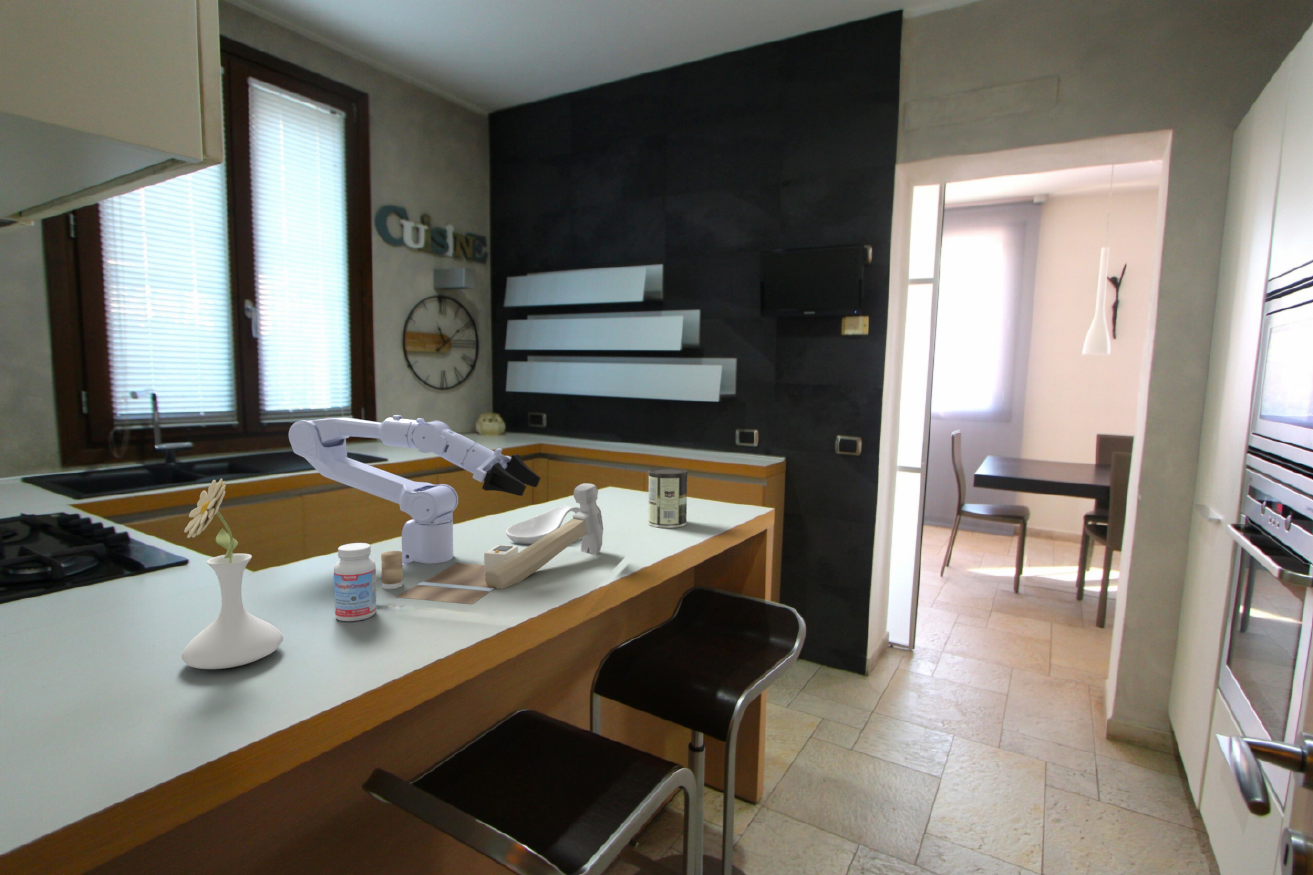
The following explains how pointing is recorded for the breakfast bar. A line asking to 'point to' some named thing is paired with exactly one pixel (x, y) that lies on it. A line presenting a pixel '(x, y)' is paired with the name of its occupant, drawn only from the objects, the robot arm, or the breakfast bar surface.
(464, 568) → the board
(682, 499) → the coffee can
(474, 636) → the breakfast bar surface
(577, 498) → the hammer
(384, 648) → the breakfast bar surface
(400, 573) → the tan rounded cylinder
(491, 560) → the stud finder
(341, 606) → the pill bottle
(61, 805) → the breakfast bar surface
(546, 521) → the spoon rest
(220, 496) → the flower in vase
